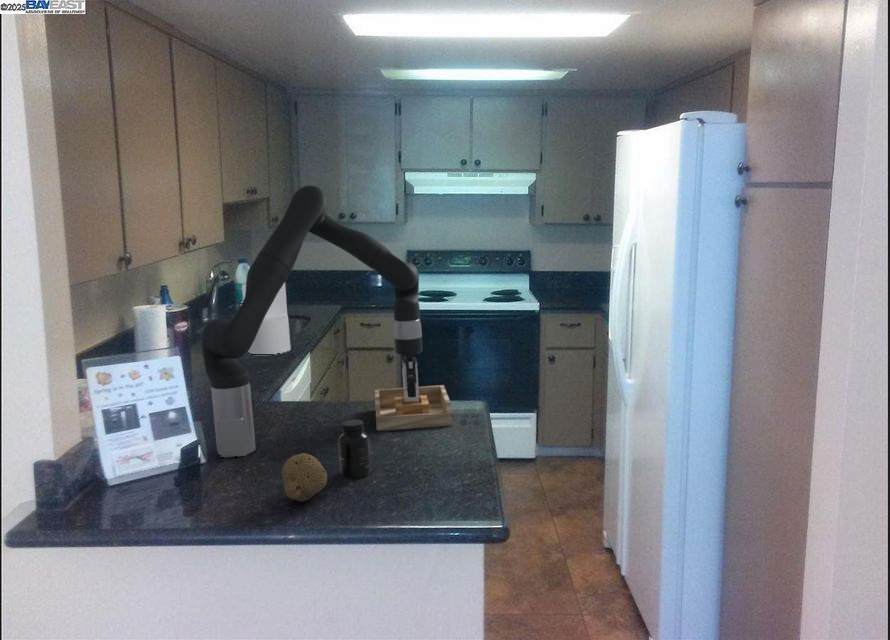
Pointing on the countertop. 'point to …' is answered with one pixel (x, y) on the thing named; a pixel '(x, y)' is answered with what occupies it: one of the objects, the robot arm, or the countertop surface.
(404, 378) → the connector peg
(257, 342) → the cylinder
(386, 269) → the robot arm
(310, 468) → the natural sponge
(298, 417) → the countertop surface
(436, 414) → the walled box
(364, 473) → the supplement bottle
